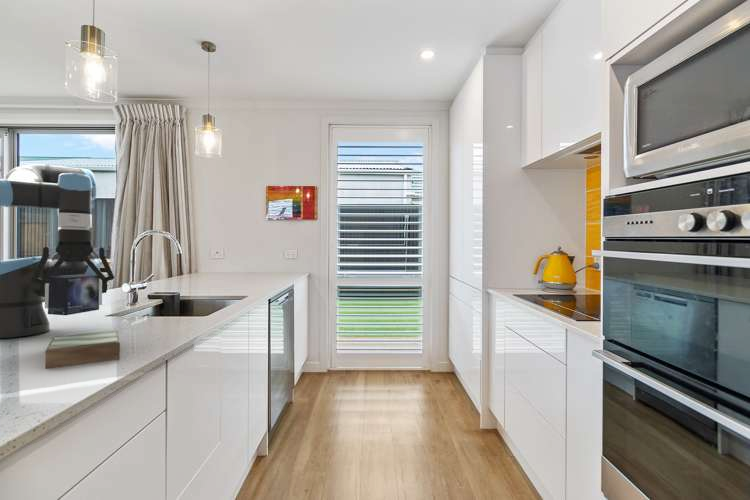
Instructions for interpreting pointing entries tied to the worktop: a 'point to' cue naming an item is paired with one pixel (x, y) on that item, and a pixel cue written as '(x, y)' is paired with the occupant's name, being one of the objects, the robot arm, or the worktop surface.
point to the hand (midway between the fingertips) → (74, 306)
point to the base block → (82, 349)
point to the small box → (73, 294)
